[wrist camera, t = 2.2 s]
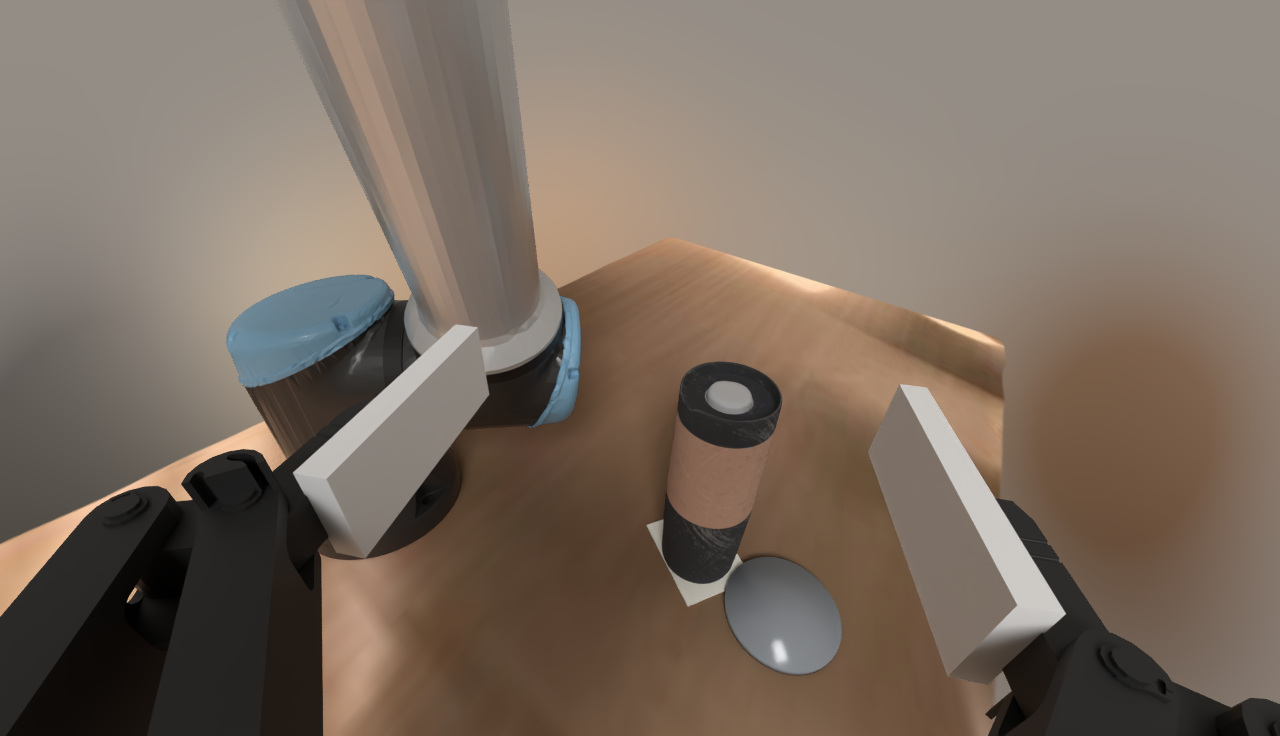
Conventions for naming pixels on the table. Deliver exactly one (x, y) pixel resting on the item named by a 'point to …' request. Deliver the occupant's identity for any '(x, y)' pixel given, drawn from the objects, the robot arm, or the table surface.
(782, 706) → the table surface
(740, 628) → the slate coaster
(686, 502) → the travel mug
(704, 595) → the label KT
